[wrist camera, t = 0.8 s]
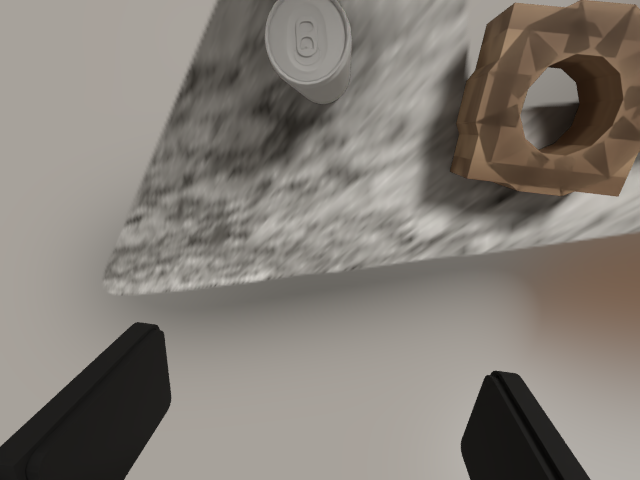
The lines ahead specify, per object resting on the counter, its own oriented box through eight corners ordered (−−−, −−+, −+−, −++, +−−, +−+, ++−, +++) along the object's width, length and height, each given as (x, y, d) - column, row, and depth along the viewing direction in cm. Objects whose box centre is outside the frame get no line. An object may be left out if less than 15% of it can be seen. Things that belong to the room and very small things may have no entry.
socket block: (482, 15, 25) (509, -8, 21) (648, 31, 24) (711, 11, 20) (442, 176, 29) (458, 184, 25) (582, 192, 29) (622, 203, 25)
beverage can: (298, 105, 28) (265, 89, 17) (295, 45, 27) (257, -15, 16) (350, 103, 28) (351, 86, 17) (350, 42, 26) (352, -22, 15)
